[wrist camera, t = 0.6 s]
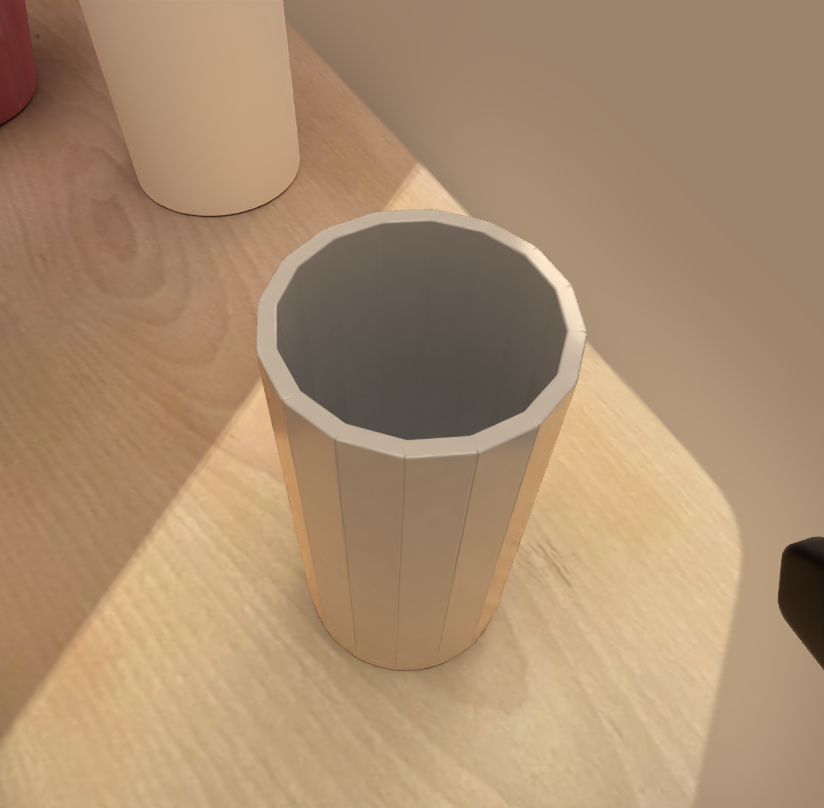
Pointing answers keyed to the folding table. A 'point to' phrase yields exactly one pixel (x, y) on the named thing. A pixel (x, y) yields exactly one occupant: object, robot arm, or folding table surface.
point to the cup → (200, 98)
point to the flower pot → (15, 59)
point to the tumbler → (414, 419)
